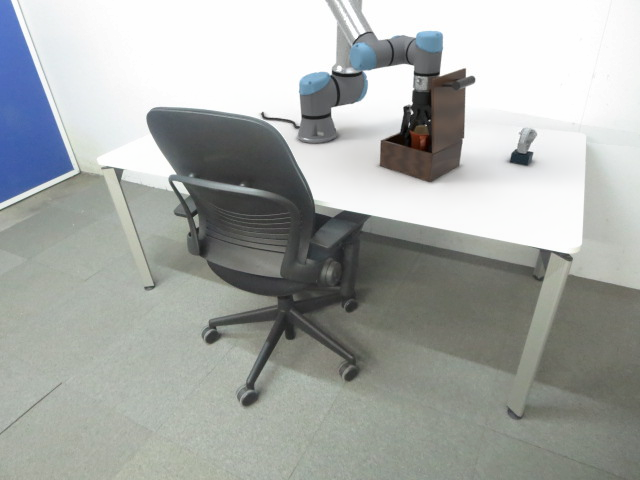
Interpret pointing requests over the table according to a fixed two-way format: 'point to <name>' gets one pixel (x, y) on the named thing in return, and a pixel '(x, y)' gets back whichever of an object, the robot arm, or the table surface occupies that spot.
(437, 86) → the lid
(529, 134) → the white bust statue
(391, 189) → the table surface
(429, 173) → the chest
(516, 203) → the table surface
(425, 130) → the mug
